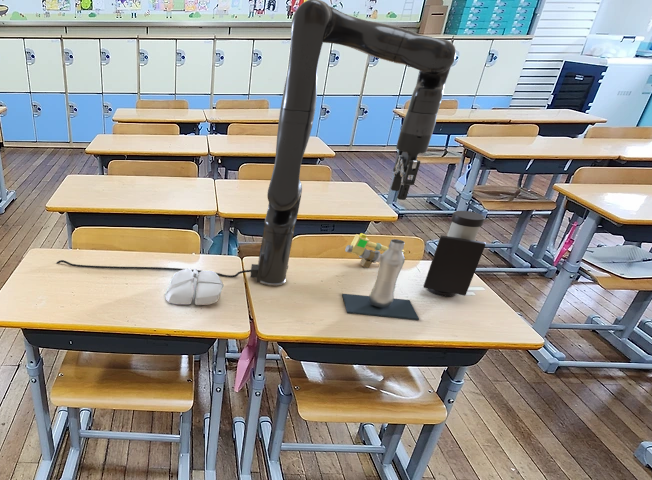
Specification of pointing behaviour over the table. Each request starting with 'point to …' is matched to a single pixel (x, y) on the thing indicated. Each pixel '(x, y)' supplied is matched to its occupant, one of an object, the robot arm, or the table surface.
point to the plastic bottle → (388, 274)
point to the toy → (367, 255)
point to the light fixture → (456, 256)
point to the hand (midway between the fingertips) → (397, 194)
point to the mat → (364, 307)
